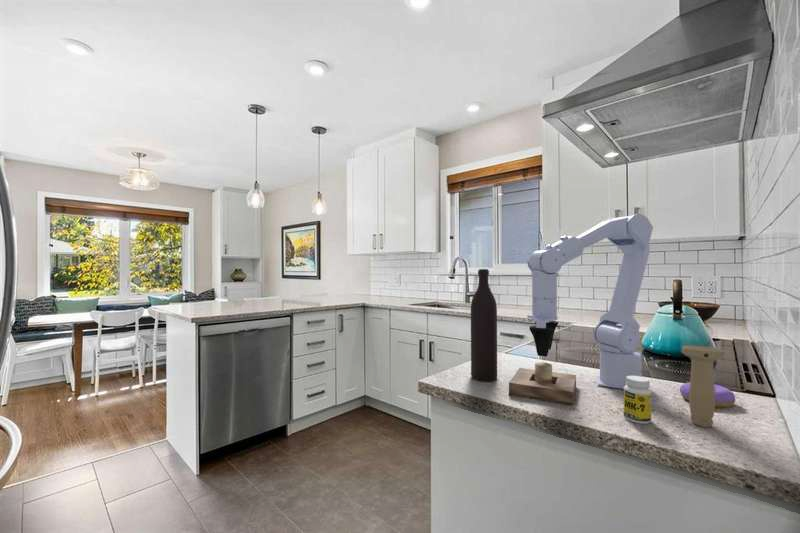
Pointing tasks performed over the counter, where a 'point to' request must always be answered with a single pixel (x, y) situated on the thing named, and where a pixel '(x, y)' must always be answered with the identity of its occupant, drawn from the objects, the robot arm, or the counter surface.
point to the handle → (702, 383)
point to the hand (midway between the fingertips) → (544, 352)
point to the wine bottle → (483, 331)
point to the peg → (543, 372)
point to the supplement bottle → (637, 400)
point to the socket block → (543, 387)
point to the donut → (721, 395)
